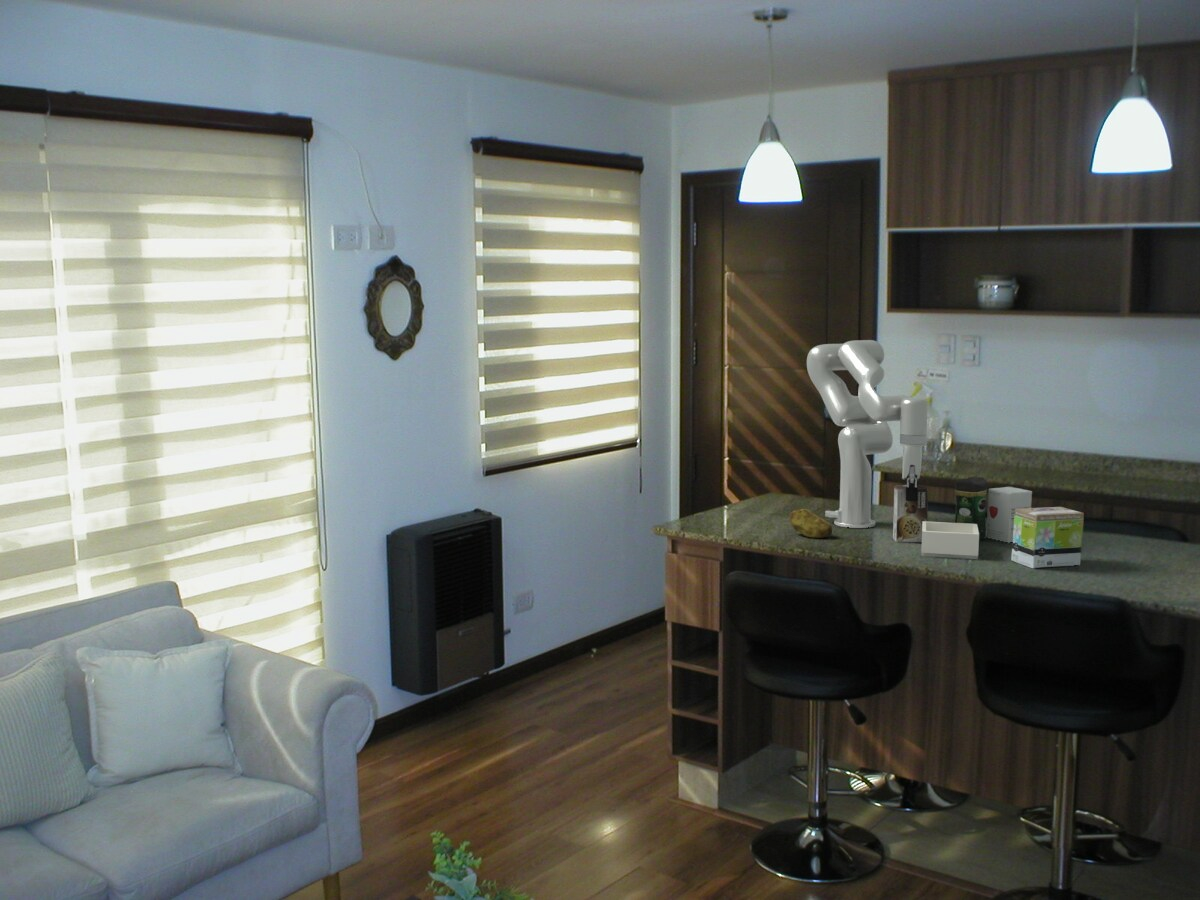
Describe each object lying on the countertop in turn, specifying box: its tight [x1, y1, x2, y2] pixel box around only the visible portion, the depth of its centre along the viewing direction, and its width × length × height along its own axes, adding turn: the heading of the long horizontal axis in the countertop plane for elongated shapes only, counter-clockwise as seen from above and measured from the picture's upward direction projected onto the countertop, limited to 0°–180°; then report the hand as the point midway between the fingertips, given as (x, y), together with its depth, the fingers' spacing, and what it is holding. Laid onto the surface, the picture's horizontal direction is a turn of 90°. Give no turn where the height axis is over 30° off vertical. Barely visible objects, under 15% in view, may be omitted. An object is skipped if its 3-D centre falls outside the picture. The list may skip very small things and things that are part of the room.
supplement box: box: [985, 486, 1033, 544], centre depth 346 cm, size 9×9×15 cm
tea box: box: [1010, 506, 1085, 569], centre depth 315 cm, size 15×10×15 cm
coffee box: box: [892, 484, 929, 543], centre depth 345 cm, size 9×6×16 cm
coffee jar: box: [954, 476, 988, 541], centre depth 346 cm, size 10×8×19 cm
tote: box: [920, 520, 980, 560], centre depth 330 cm, size 15×15×7 cm
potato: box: [788, 508, 833, 539], centre depth 351 cm, size 8×13×8 cm, turn 39°
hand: (911, 498), depth 344 cm, fingers open, 9 cm apart
